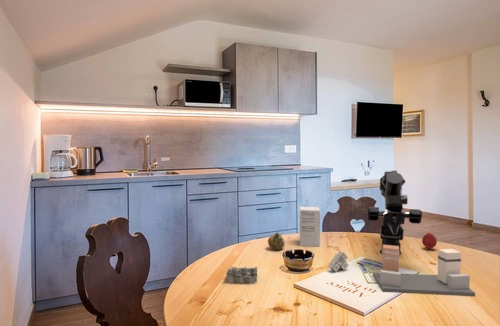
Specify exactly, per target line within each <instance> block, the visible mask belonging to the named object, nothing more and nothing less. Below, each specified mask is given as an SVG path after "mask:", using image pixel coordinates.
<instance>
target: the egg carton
mask: <svg viewBox="0 0 500 326" xmlns="http://www.w3.org/2000/svg"><path fill="white" fill-rule="evenodd" d="M225 275H226V283H229V284H235V283H239V284H244V283H248V284H251V285H252V284H255V283H257V282H258V267H257V266H255V267H246V266H245V267H236V266H232V267H230V268H228V269H227V271H226V274H225Z"/></svg>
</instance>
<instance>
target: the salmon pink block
mask: <svg viewBox="0 0 500 326" xmlns="http://www.w3.org/2000/svg"><path fill="white" fill-rule="evenodd" d="M381 250H382V249H381ZM381 253H382V254H381V255H382V267H381V268H382V269H381V270H385V271H393V272H400V270H399V266H400V265H399V263H400V262H399V261H400V253H399V246H392V245H383V250H382V252H381Z"/></svg>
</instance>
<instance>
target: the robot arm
mask: <svg viewBox="0 0 500 326" xmlns="http://www.w3.org/2000/svg"><path fill="white" fill-rule="evenodd" d="M404 184H406V180H405V179H404V177H403V175H402V174H401V173H399V172H398V171H397V170H391V171H387V170H386V171H384V174H383V176H382V177H380V179H379V191H381V193H380V194H381V196H382V197H384V206H385V207H384V208H385V209H384V210H383V211H382V210H381V211H380V208H379V206H378V207H376V206H375V207H374V206H369V207H368V208H367V220H368V221H372V222H377V221H378V220H379V218H380V217H381V218H382V221H381V224H380V232H379V233H380V234H379V235H380V239H381V250H380V251H379V253H382V250H383V245H392V246H399V254H401V253H402V251H401V242H400V241H402V240H404V231H405V230H404V229H403V226H402V225H404V224H405V221H406V219H408V222H409V223H411V224H418V225H419V224H421V223H422V218H423V212H422V210H421V209H419V208H417V209H415V208H410V209H409V212H407V211H403V209H404V205H407V204H408V200H409V199H408V195H407V194H402V190H403V189H402V187H403V185H404Z"/></svg>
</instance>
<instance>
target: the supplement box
mask: <svg viewBox="0 0 500 326" xmlns="http://www.w3.org/2000/svg"><path fill="white" fill-rule="evenodd" d="M320 224H321V209H320V207H319V206H299V246H300V247H318V248H319V247H320V246H321V245H320V243H321V225H320Z"/></svg>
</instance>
